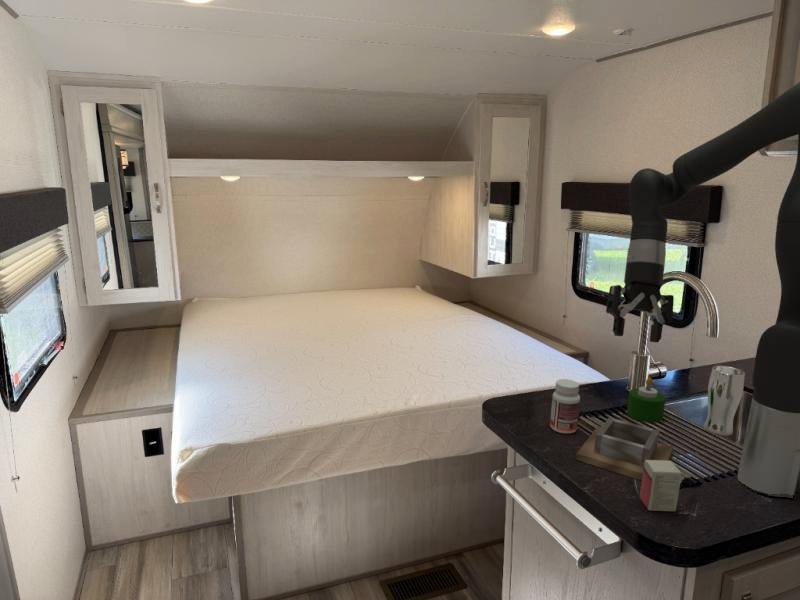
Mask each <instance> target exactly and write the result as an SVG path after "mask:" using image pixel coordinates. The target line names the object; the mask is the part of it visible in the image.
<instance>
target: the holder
mask: <svg viewBox="0 0 800 600" xmlns="http://www.w3.org/2000/svg"><path fill="white" fill-rule="evenodd" d="M659 435H660V430H659V429H654V428H651V427H647V426H643V425H641V424H640V425H639V424H636V423H633V422H632V423H631V422H628V421H624V420H620V419H617V418H614V417H613V418H612V417H608V418H607V419H606V421H605V422H604V424H603V425H602V426H600V425H599V426H597V427H596V428H595V429H594V430H593V432H592V433H591V434H590V436H589V437H588V438H587V439H586V441H585V442H584V443H583V444H582V445H581V447H580V448H579V450H577V452H576V454H575V455H576V456H575V461H577V460H578V461H577V462H581V461H582V462H581V463H585V464H587V465H590V464H591V466H593V465H594V467H597V468H600V469H604V470H607V471H610V472H613V473H616V474H619V475H622V476H623V475H624V476H626V477H630V478H632V479H636V480H640V481H642V477H643V470H644V462H645V460H665V461H670V459H671V457H672V454H673V451H674V446H672V445H669V444H666V443H661V442H659Z"/></svg>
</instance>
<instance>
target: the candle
mask: <svg viewBox="0 0 800 600" xmlns="http://www.w3.org/2000/svg"><path fill="white" fill-rule="evenodd" d="M645 384H646V385H645V386H639V387H637V388H632V389H630V390H629V393H628V399H627V400H628V401H627V407H626V414H627V415H628V416H629V417H630V418H632V419H634V420H637V421H640V422H643V423H659V422H662V421H663V420H664V419H663V417H664V412H665V405H666V398H667V397H666V396H665V395H664V394H663V393H661V392H659V391H658V390H657V389H656V388H653V387H652V385H653V379H652V378H651V377H647V379H646V381H645Z"/></svg>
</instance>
